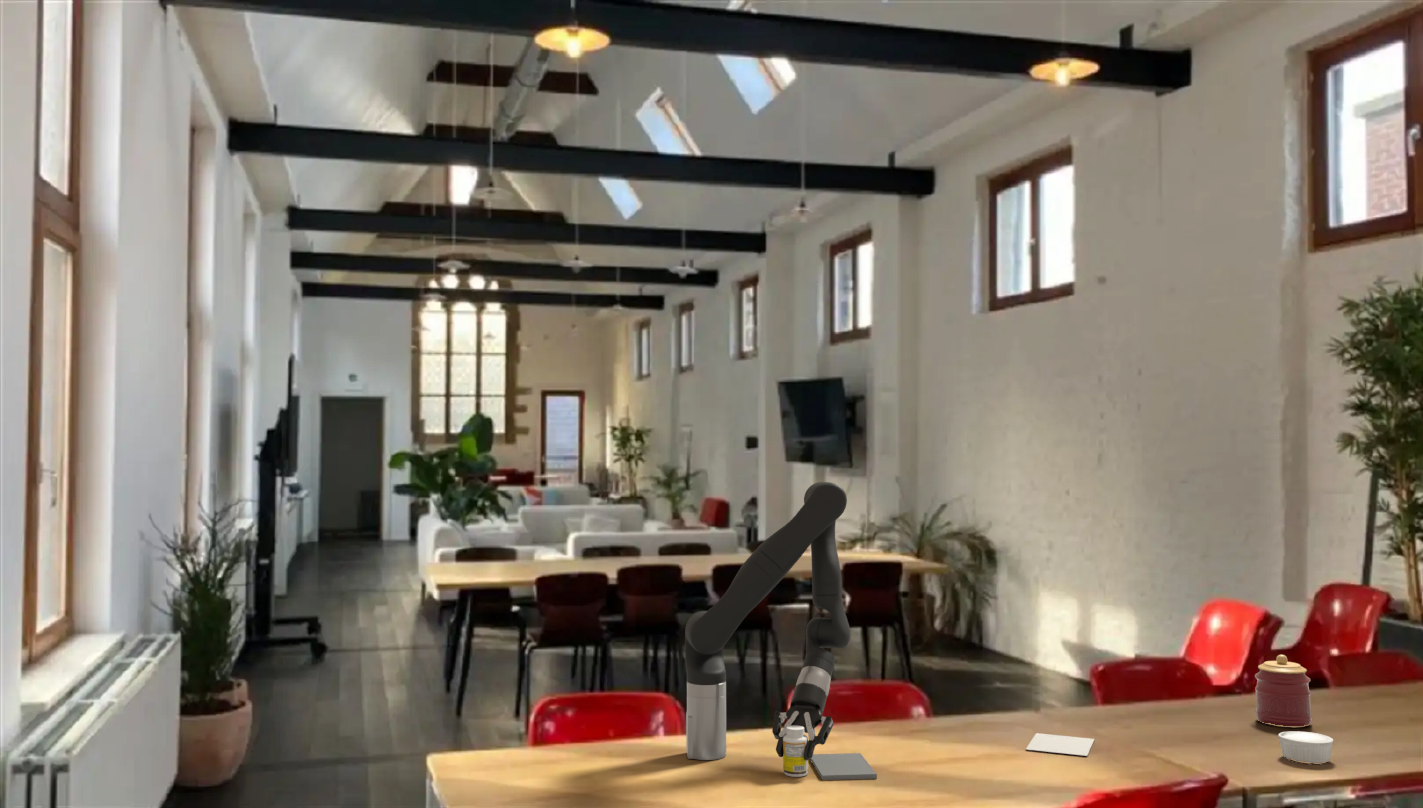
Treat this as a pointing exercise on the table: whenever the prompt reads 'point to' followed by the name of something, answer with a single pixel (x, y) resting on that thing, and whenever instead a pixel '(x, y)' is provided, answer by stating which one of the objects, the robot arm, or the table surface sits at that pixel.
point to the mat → (842, 766)
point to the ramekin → (1306, 746)
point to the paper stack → (1060, 744)
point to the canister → (1283, 693)
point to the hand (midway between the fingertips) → (792, 756)
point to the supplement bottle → (794, 752)
